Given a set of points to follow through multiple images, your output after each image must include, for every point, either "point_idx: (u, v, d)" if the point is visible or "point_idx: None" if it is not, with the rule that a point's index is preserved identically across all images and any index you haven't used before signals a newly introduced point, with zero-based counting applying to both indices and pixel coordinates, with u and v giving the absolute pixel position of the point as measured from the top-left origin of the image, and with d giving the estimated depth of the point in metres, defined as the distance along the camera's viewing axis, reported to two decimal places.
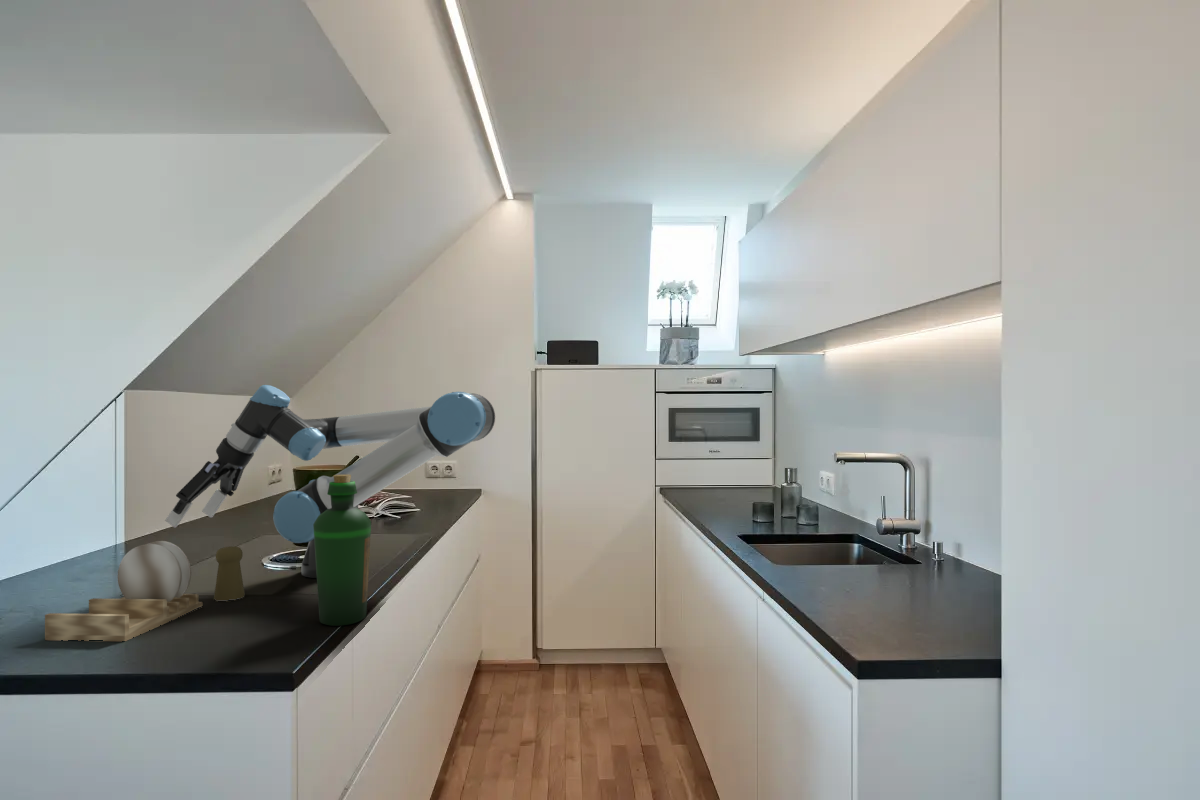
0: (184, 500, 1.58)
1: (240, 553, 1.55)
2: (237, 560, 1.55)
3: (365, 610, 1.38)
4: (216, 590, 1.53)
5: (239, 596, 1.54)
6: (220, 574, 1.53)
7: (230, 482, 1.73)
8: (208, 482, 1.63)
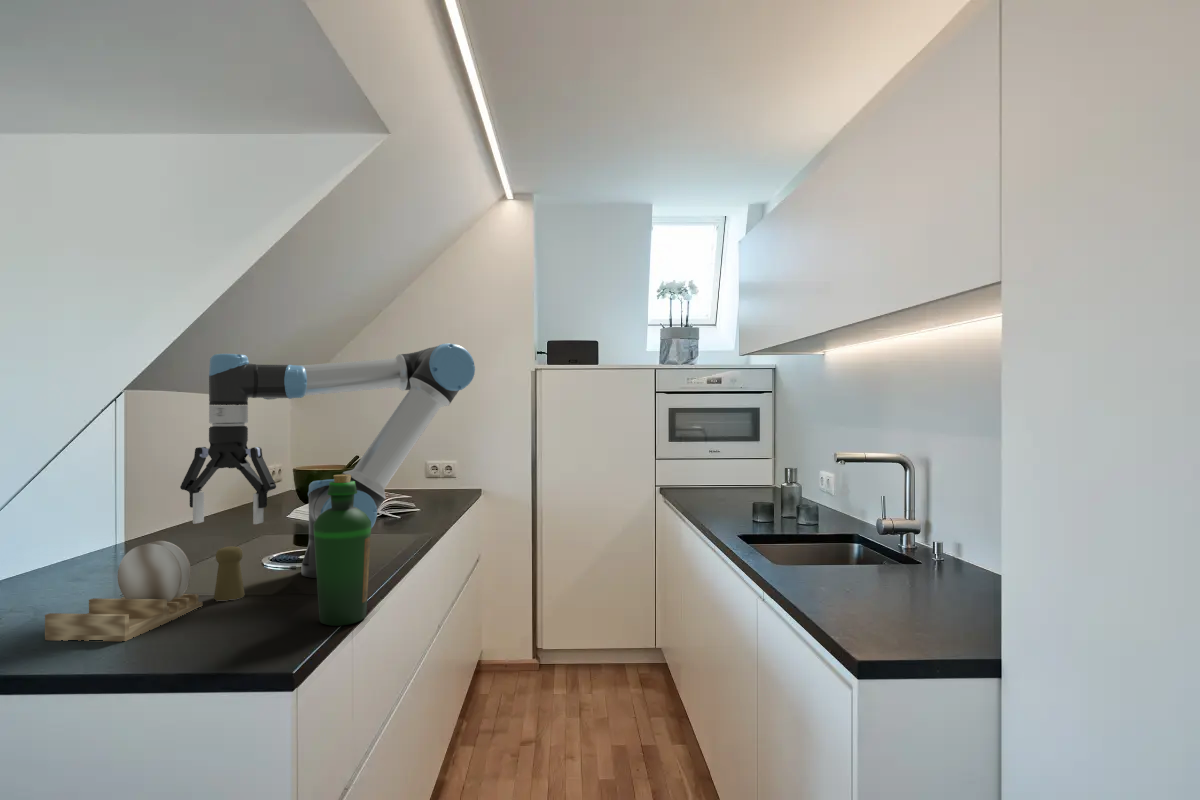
0: (275, 486, 1.56)
1: (240, 553, 1.55)
2: (237, 560, 1.55)
3: (365, 610, 1.38)
4: (216, 590, 1.53)
5: (239, 596, 1.54)
6: (220, 574, 1.53)
7: None
8: (251, 468, 1.56)
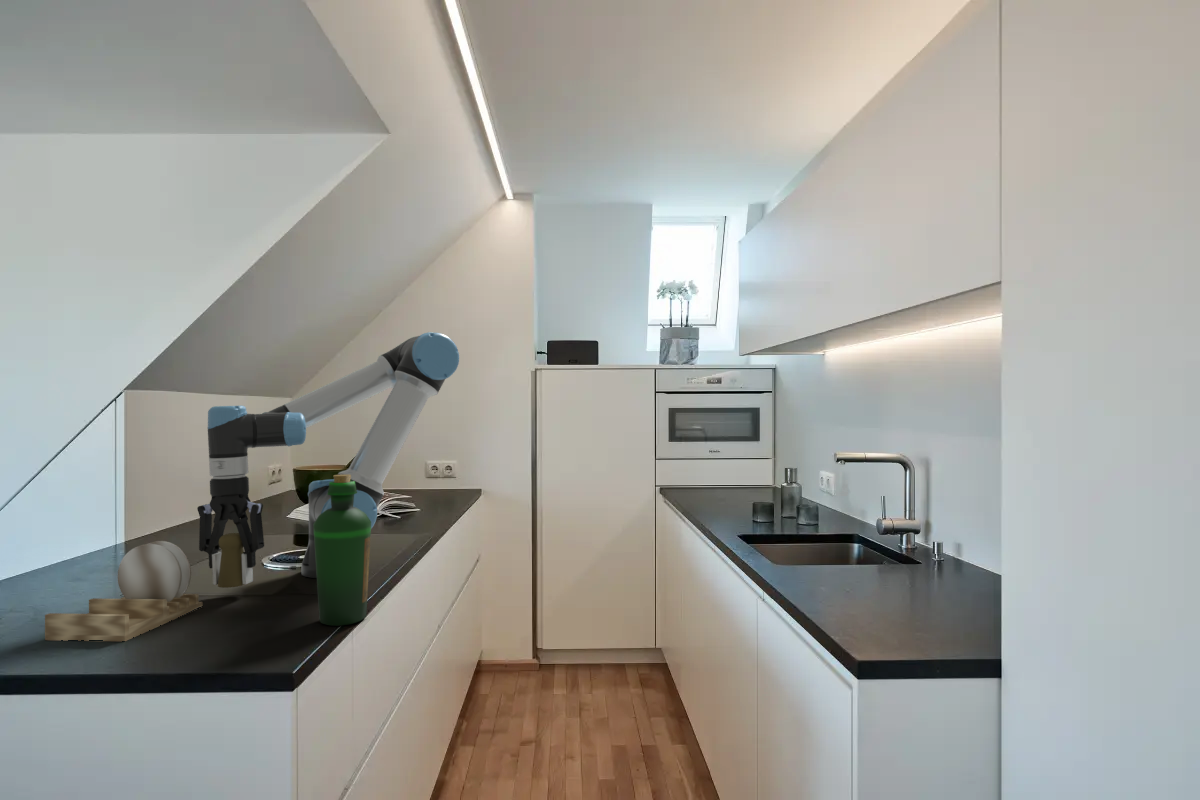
0: (263, 546, 1.56)
1: None
2: (240, 546, 1.55)
3: (365, 610, 1.38)
4: (220, 576, 1.54)
5: None
6: (224, 560, 1.54)
7: None
8: (247, 524, 1.56)
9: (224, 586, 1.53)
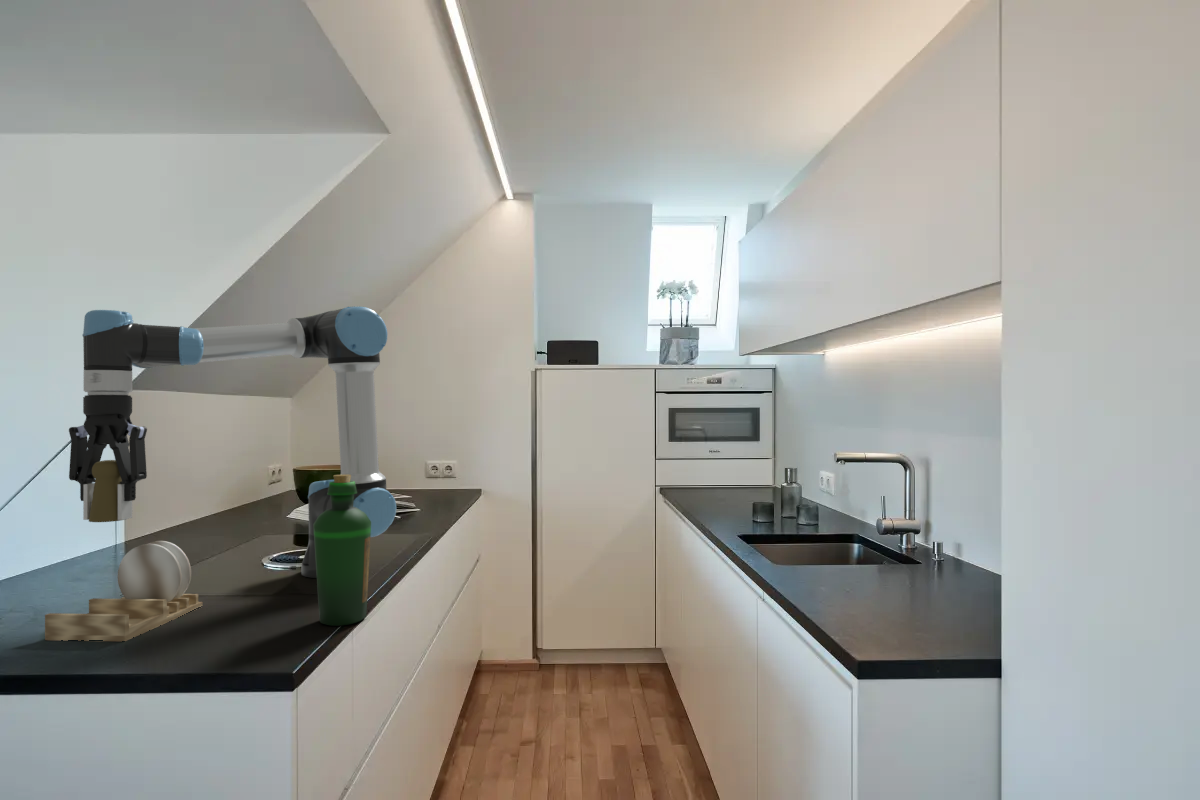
0: (145, 477, 1.34)
1: None
2: (117, 475, 1.32)
3: (365, 610, 1.38)
4: (91, 509, 1.31)
5: None
6: (96, 490, 1.31)
7: None
8: (127, 450, 1.34)
9: (95, 520, 1.30)
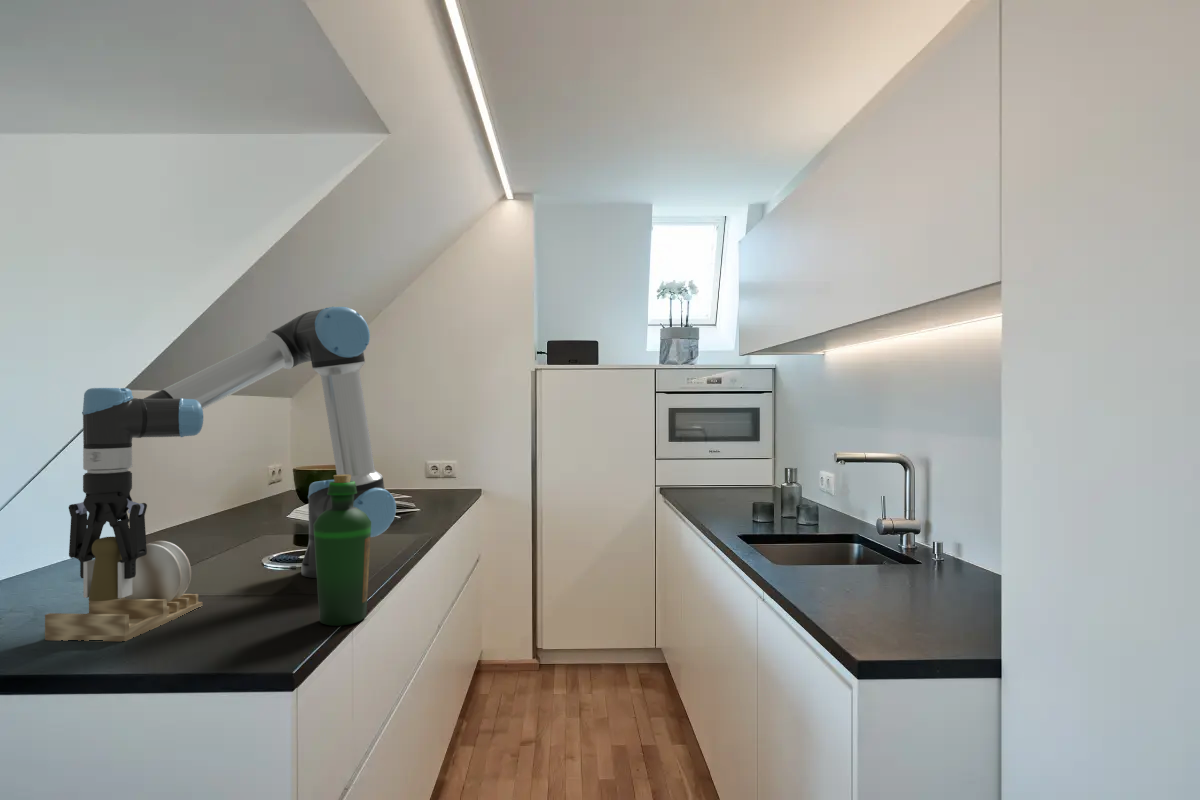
0: (145, 554, 1.33)
1: None
2: (117, 553, 1.32)
3: (365, 610, 1.38)
4: (91, 588, 1.31)
5: None
6: (96, 569, 1.31)
7: None
8: (127, 527, 1.34)
9: (95, 599, 1.30)
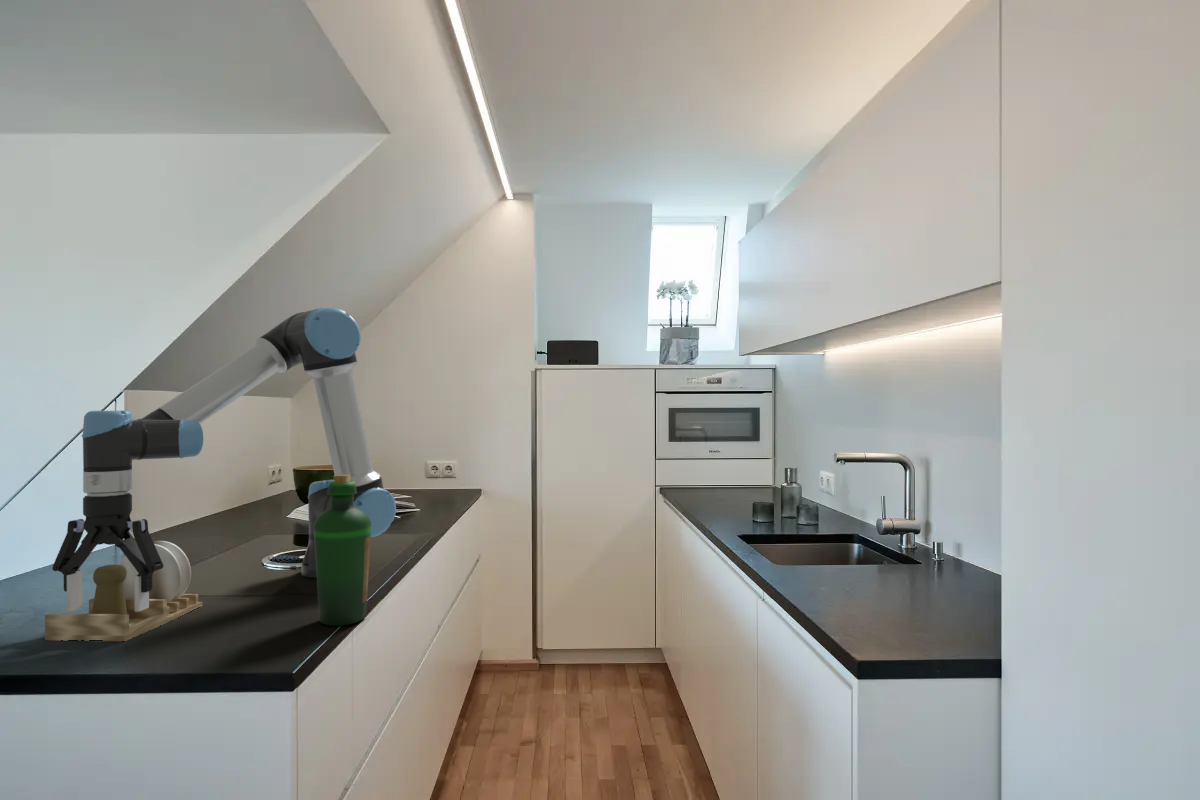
0: (162, 566, 1.33)
1: (123, 573, 1.33)
2: (118, 581, 1.32)
3: (365, 610, 1.38)
4: None
5: None
6: (97, 597, 1.31)
7: None
8: (134, 544, 1.33)
9: None
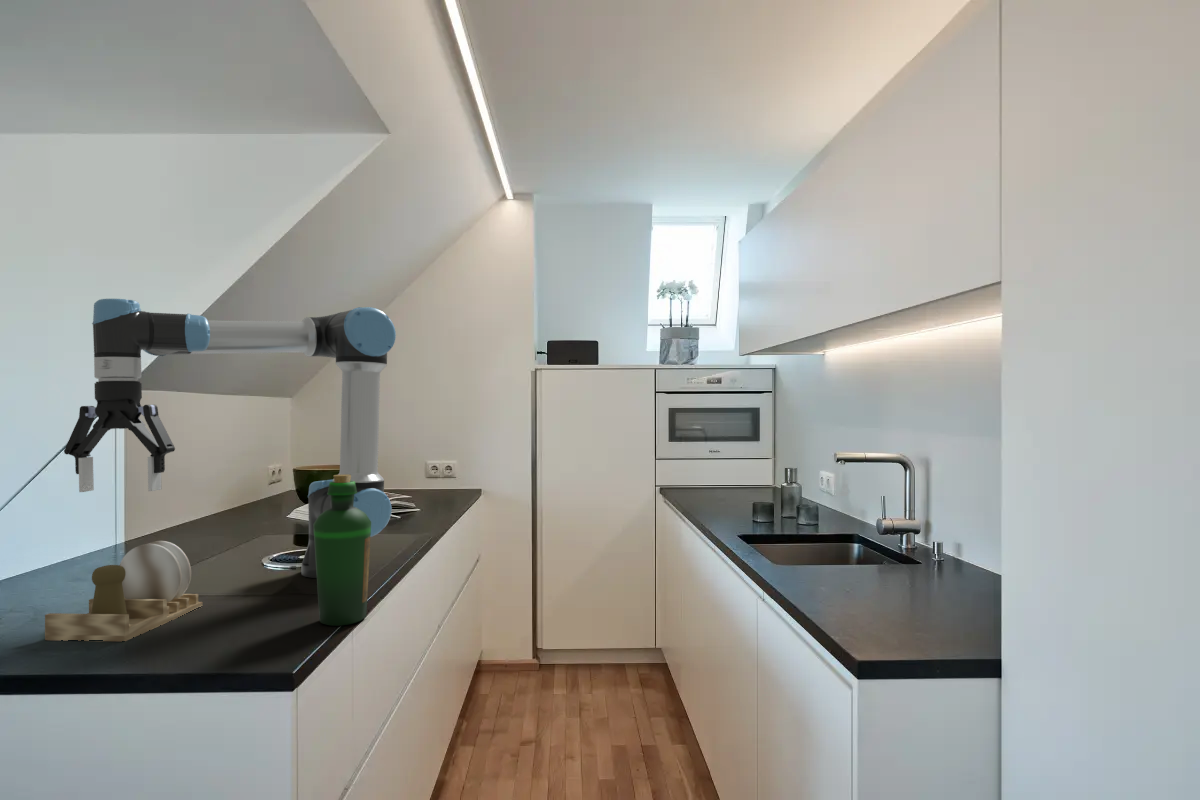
0: (173, 449, 1.38)
1: (121, 573, 1.33)
2: (117, 581, 1.32)
3: (365, 610, 1.38)
4: None
5: None
6: (96, 598, 1.31)
7: None
8: (145, 429, 1.38)
9: None
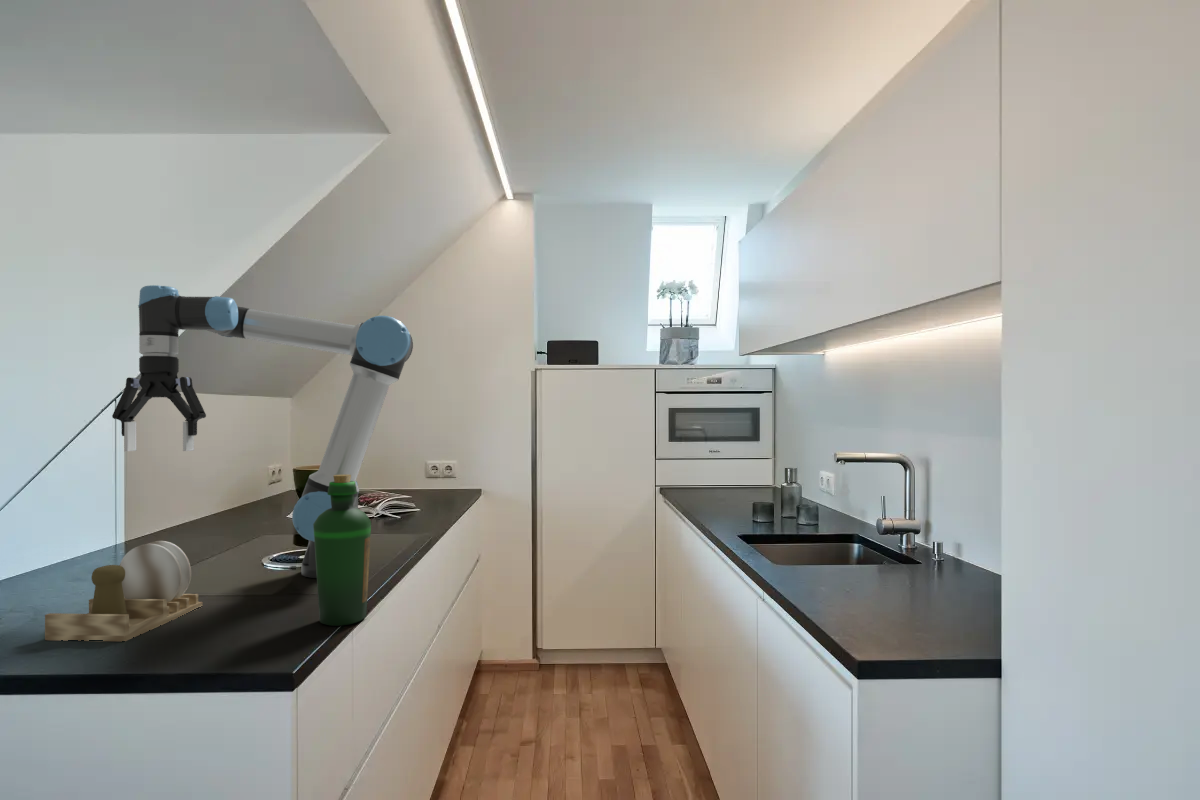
0: (205, 415, 1.60)
1: (121, 573, 1.33)
2: (117, 581, 1.32)
3: (365, 610, 1.38)
4: None
5: None
6: (96, 598, 1.31)
7: None
8: (181, 398, 1.61)
9: None
